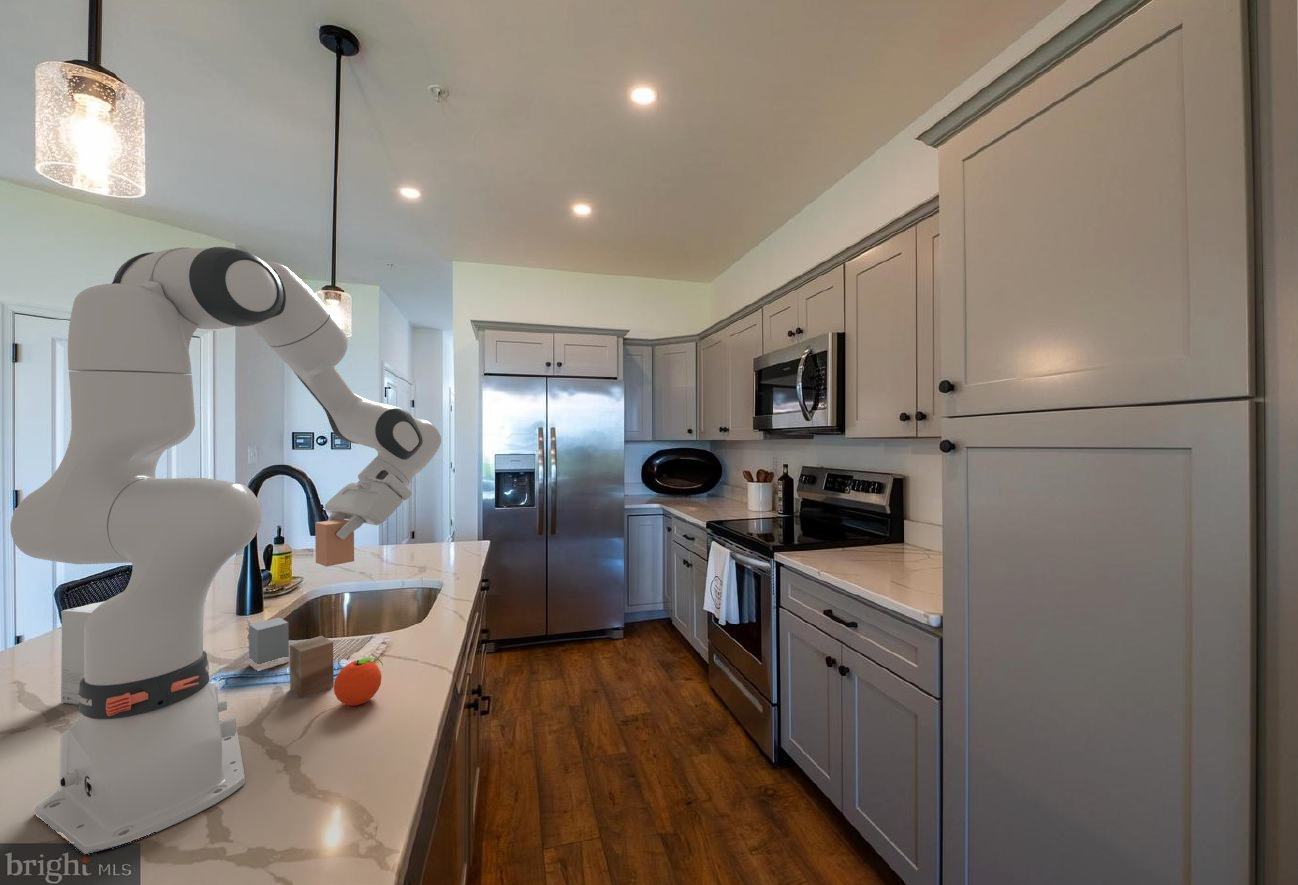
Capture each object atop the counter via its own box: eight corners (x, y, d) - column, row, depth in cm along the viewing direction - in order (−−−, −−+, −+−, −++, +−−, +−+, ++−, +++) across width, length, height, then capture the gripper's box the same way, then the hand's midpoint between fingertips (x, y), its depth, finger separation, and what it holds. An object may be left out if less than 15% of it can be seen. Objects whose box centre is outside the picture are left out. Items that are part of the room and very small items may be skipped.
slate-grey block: (288, 662, 99) (288, 622, 99) (257, 672, 95) (257, 630, 95) (279, 656, 102) (279, 617, 102) (249, 665, 98) (248, 624, 98)
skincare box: (87, 707, 82) (86, 613, 82) (57, 703, 84) (56, 611, 83) (147, 683, 90) (146, 597, 90) (119, 679, 92) (118, 595, 92)
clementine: (370, 686, 89) (370, 646, 89) (396, 694, 86) (396, 653, 86) (324, 708, 82) (324, 664, 82) (351, 718, 79) (350, 673, 79)
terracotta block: (354, 561, 99) (353, 521, 99) (326, 566, 95) (326, 524, 95) (343, 557, 102) (342, 519, 102) (315, 562, 98) (315, 522, 98)
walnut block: (333, 686, 89) (333, 641, 89) (301, 698, 85) (300, 651, 85) (321, 678, 92) (321, 635, 92) (290, 689, 88) (289, 644, 88)
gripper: (348, 471, 110) (297, 520, 102) (394, 474, 98) (341, 531, 90) (369, 489, 114) (321, 538, 106) (416, 494, 102) (367, 551, 94)
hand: (331, 535), depth 98 cm, fingers closed on terracotta block, 5 cm apart
